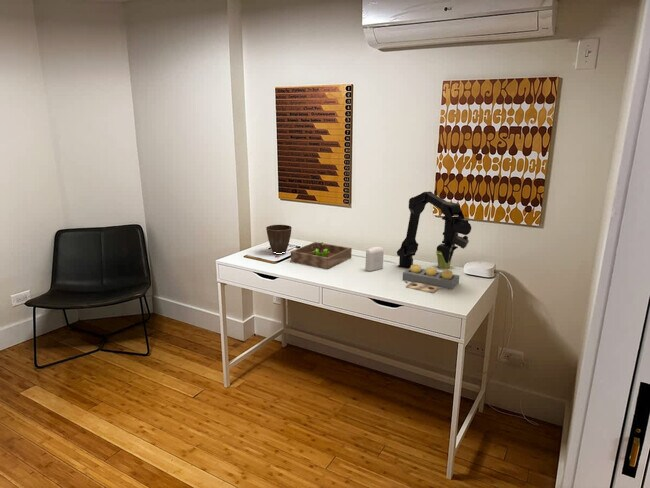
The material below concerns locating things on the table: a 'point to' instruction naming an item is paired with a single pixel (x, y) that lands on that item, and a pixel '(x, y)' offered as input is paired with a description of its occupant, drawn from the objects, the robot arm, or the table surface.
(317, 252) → the plant
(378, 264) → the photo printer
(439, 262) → the plant pot
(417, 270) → the button
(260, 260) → the table surface
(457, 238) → the robot arm
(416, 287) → the card
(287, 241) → the plant pot
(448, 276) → the button
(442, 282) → the board
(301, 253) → the brown wooden tray
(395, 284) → the table surface
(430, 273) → the button
